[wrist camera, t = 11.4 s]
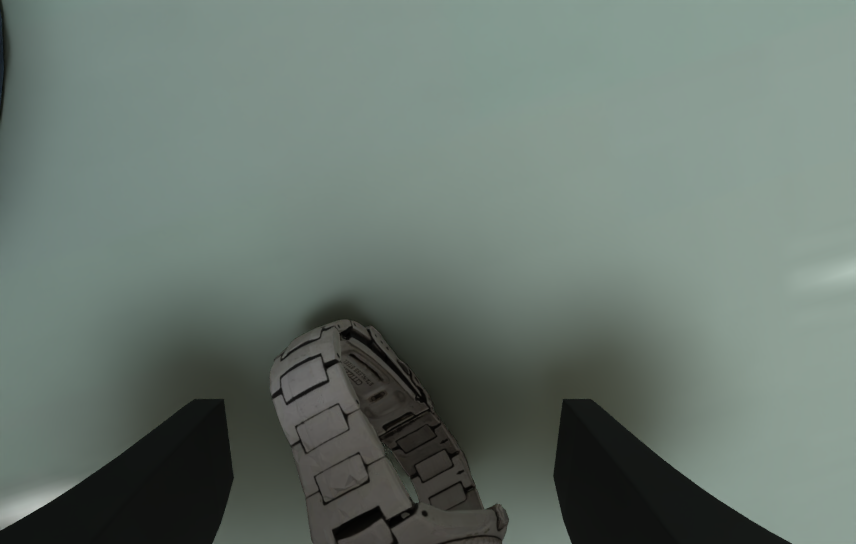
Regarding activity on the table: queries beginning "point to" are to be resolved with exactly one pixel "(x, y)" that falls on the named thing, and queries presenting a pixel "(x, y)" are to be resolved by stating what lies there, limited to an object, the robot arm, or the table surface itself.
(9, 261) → the table surface
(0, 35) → the tin
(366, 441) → the wristwatch
